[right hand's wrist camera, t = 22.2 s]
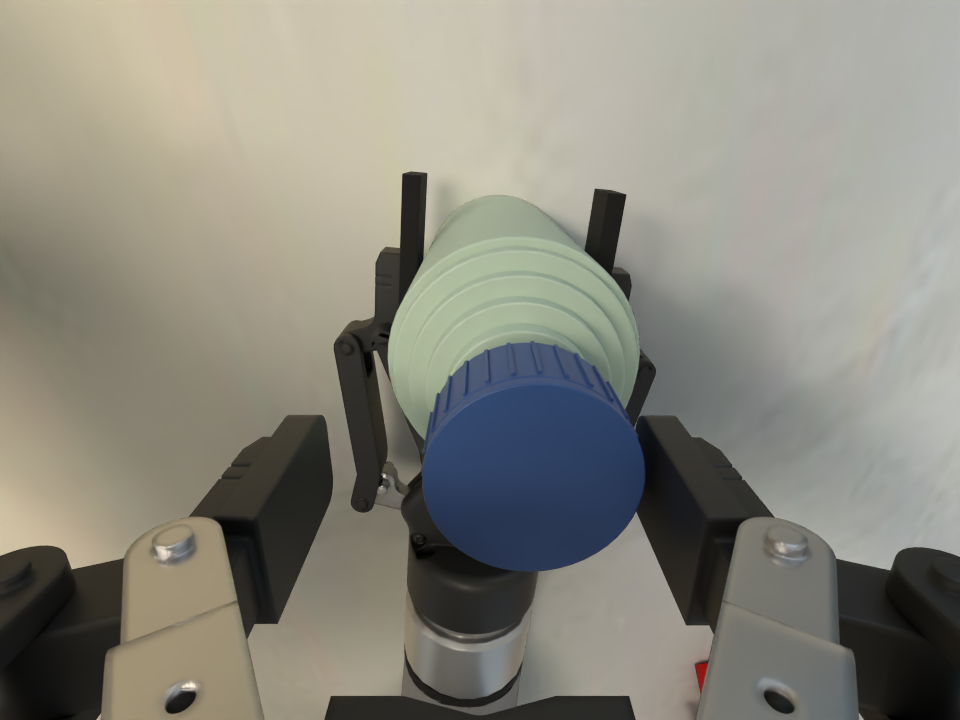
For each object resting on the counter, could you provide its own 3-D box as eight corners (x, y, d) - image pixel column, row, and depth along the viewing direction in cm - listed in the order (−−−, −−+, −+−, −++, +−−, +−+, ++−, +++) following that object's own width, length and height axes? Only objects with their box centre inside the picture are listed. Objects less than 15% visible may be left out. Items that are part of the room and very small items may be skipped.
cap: (540, 535, 13) (551, 606, 11) (392, 447, 12) (375, 507, 10) (658, 409, 12) (697, 463, 10) (504, 299, 11) (510, 334, 9)
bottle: (516, 165, 28) (600, 193, 9) (588, 280, 31) (783, 507, 11) (403, 247, 30) (260, 427, 10) (480, 350, 32) (483, 657, 13)
